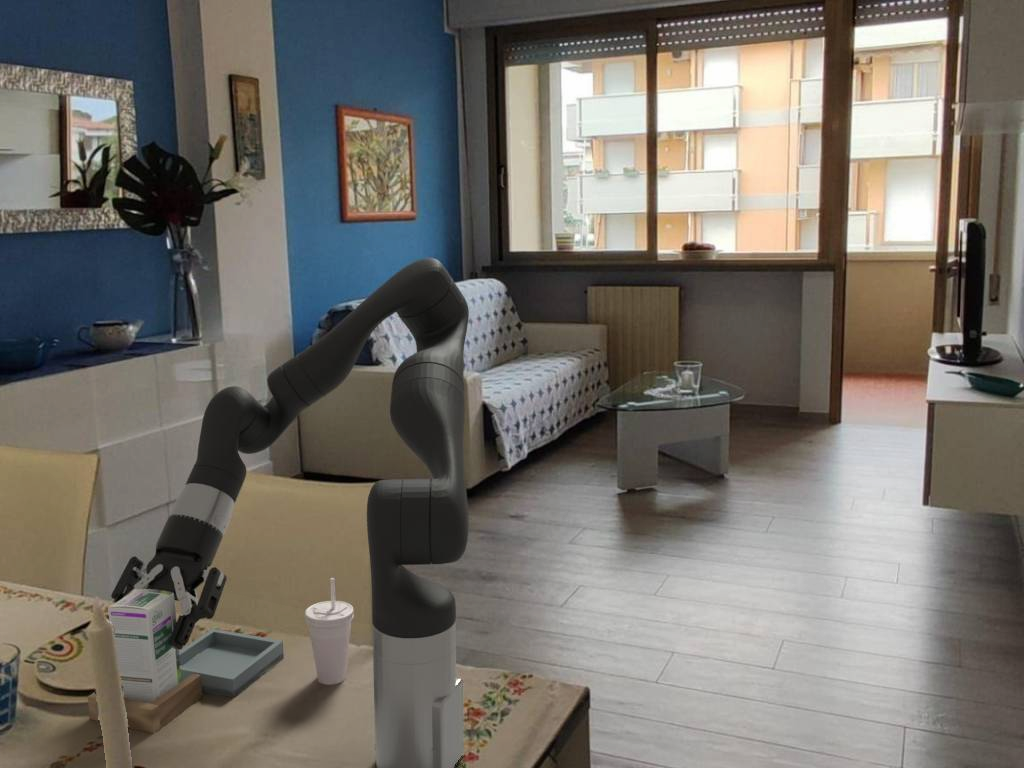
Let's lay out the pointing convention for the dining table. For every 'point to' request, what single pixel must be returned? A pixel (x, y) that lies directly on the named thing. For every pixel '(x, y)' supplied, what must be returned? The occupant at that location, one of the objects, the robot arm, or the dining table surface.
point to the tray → (229, 660)
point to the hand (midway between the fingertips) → (145, 642)
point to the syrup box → (146, 643)
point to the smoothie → (330, 637)
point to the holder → (157, 706)
